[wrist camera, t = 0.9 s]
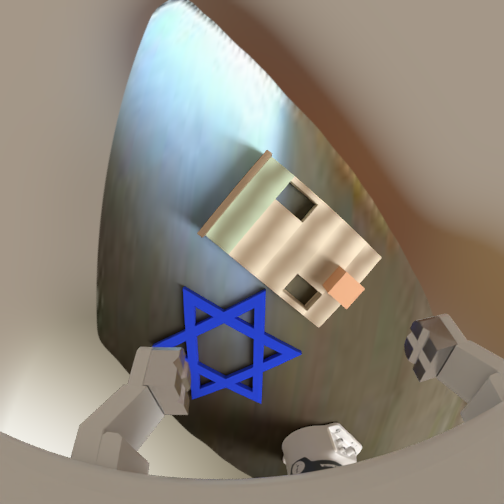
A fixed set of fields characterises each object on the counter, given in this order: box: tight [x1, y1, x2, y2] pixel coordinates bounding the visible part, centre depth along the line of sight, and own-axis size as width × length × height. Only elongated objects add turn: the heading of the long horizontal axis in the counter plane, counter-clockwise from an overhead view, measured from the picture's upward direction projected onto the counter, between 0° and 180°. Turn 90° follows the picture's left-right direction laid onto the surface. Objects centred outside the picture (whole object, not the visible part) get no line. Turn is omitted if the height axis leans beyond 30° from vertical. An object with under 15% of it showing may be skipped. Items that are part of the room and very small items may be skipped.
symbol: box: [152, 286, 302, 403], centre depth 55 cm, size 26×2×30 cm
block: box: [322, 266, 365, 309], centre depth 47 cm, size 4×4×4 cm
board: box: [197, 150, 382, 327], centre depth 48 cm, size 27×17×6 cm, turn 50°
